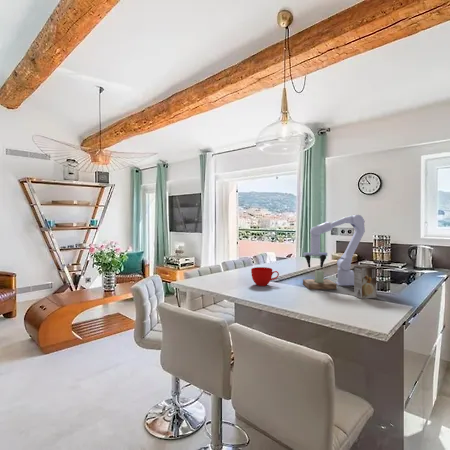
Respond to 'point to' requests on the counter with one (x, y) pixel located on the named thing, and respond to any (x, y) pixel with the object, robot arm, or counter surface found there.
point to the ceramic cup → (262, 275)
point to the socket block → (319, 284)
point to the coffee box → (365, 282)
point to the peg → (319, 276)
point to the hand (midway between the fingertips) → (315, 267)
